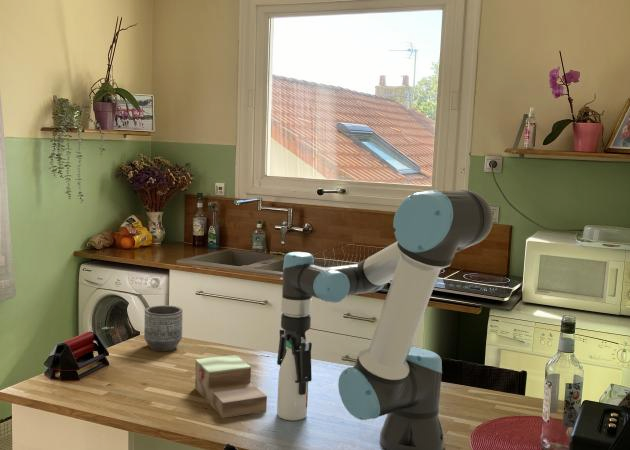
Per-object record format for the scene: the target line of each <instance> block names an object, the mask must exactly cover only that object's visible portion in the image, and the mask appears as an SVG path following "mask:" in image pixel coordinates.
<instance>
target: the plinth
mask: <svg viewBox="0 0 630 450" xmlns="http://www.w3.org/2000/svg"><path fill="white" fill-rule="evenodd" d="M251 373H252V366H251V365H249V364H248V362H246V361H244V359H243V358H241V357H239V356H238V355H237V354H232V355H230V354H229V355H223V356H221V355H220V356H214V357H213V356H212V357H206V358H196V359H195V374H194V375H195V376H194V377H195V378H194V379H195V381H194V389H195V390H196V391H197V392H198V393H199V394H200V395H201V397H202V398H204V400H205V401H206V402H207V403H208V404H209V405H210V406H211V407H212V408H213V410H214V411H216V412H217V414H219V415H220V417H221V418H222V419H226V418H231V417H238V416H243V415H248V414H249V415H250V414H257V413H262V411H263V412H267V402H268V401H267V399H268V396H267V395H266V394H265V393H264V392H263V391H261V390H260V389H259V388H258V387H257V386H256V385H254V384H253V383H252V382H251V380H252V379H251V378H252V377H251V376H252V375H251Z"/></svg>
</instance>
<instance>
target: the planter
mask: <svg viewBox="0 0 630 450" xmlns="http://www.w3.org/2000/svg"><path fill="white" fill-rule="evenodd" d="M143 332H144V334H143V335H144V337H143V338H144V340H145V342H146V344H147V346H148V347H149V348H150V349H151V351H154V352H155V351H156V352H170V351H172V350H173V351H174V350H175V349H176V348H177V347H178V345H179V343H180V342H181V340H182V338H183V309H182V308H181V307H180V306H177V305H176V306H175V305H170V304H169V305H168V304H167V305H163V304H162V305H161V304H160V305H152V306H148V307H146V308H145V309H144V330H143Z"/></svg>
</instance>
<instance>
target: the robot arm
mask: <svg viewBox="0 0 630 450" xmlns="http://www.w3.org/2000/svg"><path fill="white" fill-rule="evenodd" d="M493 224H494V213H493V209H492V207H491V205H490V204H489V202H488V200H486V198H485V197H483V196H482V195H481V194H479V193H477V192H475V191H472V190H468V189H462V190H461V189H460V190H433V189H432V190H430V189H429V190H424V191H420V192H415V193H412V194H410V195H408V196H406V198H404V199H403V200H402V201H401V202H400V204H399V205H398V207H397V208H396V211H395V213H394V217H393V223H392V225H393V226H392V227H393V229H394V230H395V231H394V236H395V239H396V241H395V242H394V243H391V244H390V245H388V246H386V247H384V248H383V249H382V250H379V251H378V252H375V253H374V254H372V255H370V256H369V257H367V258H366V259H363V260H361V261H360V262H358V263H353V264H345V265H336V266H330V267H327V266H325V267H324V266H321V265H316V264H315V260H314V256H313V254H312V253H309V252H306V251H305V252H304V251H303V252H302V251H292V252H291V251H290V252H288V253H286V254H285V255H284V257H283V265H282V266H283V267H282V289H281V290H282V291H281V293H282V294H281V295H282V296H281V312H282V313H281V315H280V319H281V320H280V329H279V341H278V350H277V360H276V364H277V366H279V367H280V366H281V364H282V362H283V360H284V358H285V355H286V351H287V349H286V341H287V340H290V344H291V345H292V348H291V349H292V354H293V355H294V358H295V366H296V373H297V380H296V381H295V402H294V406H295V407H299V406H305V400H306V382H308V383H309V382H312V380H313V378H312V347H313V346H312V345H313V343H312V342H311V341H307V337H306V332H308V331H309V330H310V329H311V325H312V324H311V323H312V322H311V321H312V315H311V312H312V303H313V299H312V298H317V299H319V300H321V301H324V302H327V303H329V302H330V303H339V302H341V301H343V300H344V299H345V298H346V297H347V296H354V295H360V294H370V293H375V292H377V291H380V290H382V289H383V288H384V287H385V285H386V284H387V283H388V282H390V281H391V283H390V285H389V288H388V290H387V294H386V296H385V299H384V301H383V306H382V308H381V310H380V314H379V317H378V319H377V322H376V325H375V328H374V330H373V333H372V335H371V338H370V342H369V344H368V346H364V347H363V348H361V349H360V351H359V353H358V355H357V357H356V361H355V363H354V365H353V367H352V366H351V367H347V368H345V369H344V370H342V371H341V373H340V375H339V376H338V377H339V378H338V386H337V388H338V393H339V396H340V400H341V402H342V404H343V406H344V408H345V409H346V410H347V412H349V414H350V415H351V416H352V417H354V418H355V419H357V420H360V421H367V420H373V419H374V420H376V419H377V418H380V417H382V416H386V417H385V420H384V422H383V426H381V427H382V428H381V429H380V432H379V443H380V445H381V447H383V448H384V450H444V446H445V436H444V432H443V428H442V424H441V421H440V415H439V410H440V399H441V385H442V375H443V370H442V369H443V367H442V366H443V365H442V362H443V361H442V358H441V356H440V355H439V354H437V353H436V352H434V351H432V350H429V349H425V348H421V347H415V346H412V345H413V343H414V340H415V338H416V335H417V333H418V331H419V328H420V325H421V322H422V320H423V316H424V315H425V311H426V309H427V306H428V304H429V301H430V298H431V296H432V293H433V290H434V289H435V286H436V283H437V280H438V277H439V275H440V272H441V270H443V269H445V268H448V267H450V266H452V262H453V259H454V257H455V254H456V253H457V252H461V251H463V250H466V249H467V248H469V247H471V246H475V245H476V244H479V243H481V242H482V241H484V240H485V239H486V238H487V236H489V234H490V232H491V230H492V228H493ZM296 350H300V351H296Z"/></svg>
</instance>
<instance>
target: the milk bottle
mask: <svg viewBox="0 0 630 450" xmlns="http://www.w3.org/2000/svg"><path fill="white" fill-rule="evenodd" d="M291 348H292V345H291V344H290V340H287V341H286V349H287V351H286V355H285V358H284V360H283V362H282V364H281V366H280V365H279V370H278V380H277V383H278V384H277V403H276V407H277V408H276V414H277V416H278V417H279V418H280V419H282V420H286V421H291V422H292V421H293V422H294V421H300V420H304V419H305V418H306V417H307V414H308V402H309V401H308V398H309V396H308V395H309V382H306V400H305V406H299V407H295V406H294V402H295V381H296V380H297V373H296V366H295V358H294V355H293V354H292V349H291ZM296 351H300V350H296Z"/></svg>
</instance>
